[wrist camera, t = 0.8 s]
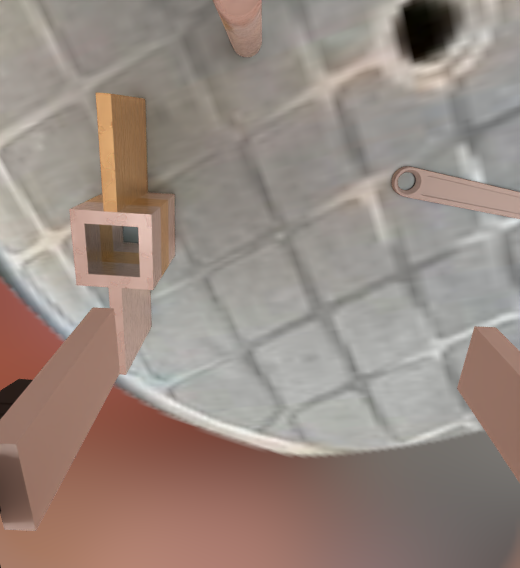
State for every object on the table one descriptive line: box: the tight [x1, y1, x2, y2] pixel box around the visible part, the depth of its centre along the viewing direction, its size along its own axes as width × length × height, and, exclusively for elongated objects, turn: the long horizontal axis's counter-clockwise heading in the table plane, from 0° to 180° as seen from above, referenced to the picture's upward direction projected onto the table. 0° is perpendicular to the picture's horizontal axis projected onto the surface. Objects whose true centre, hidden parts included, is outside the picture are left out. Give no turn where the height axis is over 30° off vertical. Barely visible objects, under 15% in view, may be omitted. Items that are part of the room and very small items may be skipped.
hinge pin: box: [213, 0, 262, 57], centre depth 28 cm, size 2×2×16 cm
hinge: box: [69, 93, 175, 375], centre depth 37 cm, size 22×6×9 cm, turn 176°
